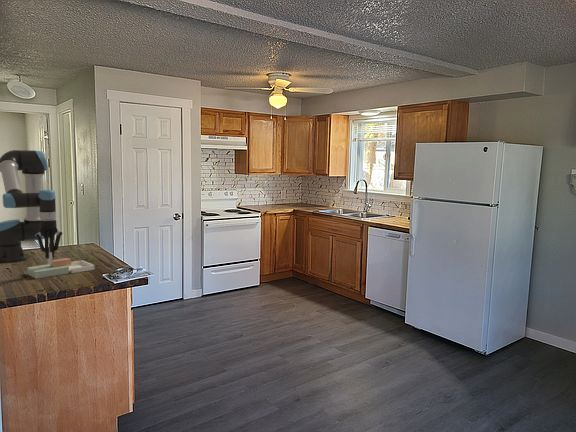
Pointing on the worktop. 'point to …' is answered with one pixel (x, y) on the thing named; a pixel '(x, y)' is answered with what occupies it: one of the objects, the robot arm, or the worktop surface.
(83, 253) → the worktop surface
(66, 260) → the tile far
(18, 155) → the robot arm
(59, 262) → the tile near
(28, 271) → the board
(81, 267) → the tray
